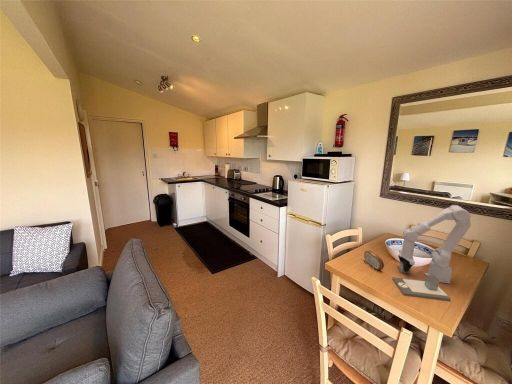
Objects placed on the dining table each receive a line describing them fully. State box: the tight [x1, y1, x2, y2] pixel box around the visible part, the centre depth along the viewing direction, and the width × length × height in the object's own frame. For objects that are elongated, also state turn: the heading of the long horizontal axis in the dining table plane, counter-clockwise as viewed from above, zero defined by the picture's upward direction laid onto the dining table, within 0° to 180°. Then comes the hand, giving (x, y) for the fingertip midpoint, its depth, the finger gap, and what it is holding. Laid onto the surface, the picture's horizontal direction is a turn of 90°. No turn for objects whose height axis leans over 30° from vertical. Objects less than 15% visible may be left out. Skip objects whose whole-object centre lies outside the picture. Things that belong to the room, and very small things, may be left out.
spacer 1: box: [398, 260, 411, 274], centre depth 131 cm, size 4×4×6 cm
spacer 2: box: [424, 275, 440, 290], centre depth 113 cm, size 4×4×6 cm
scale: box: [391, 276, 451, 302], centre depth 115 cm, size 21×14×2 cm, turn 79°
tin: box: [363, 250, 385, 271], centre depth 136 cm, size 15×3×8 cm, turn 10°
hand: (404, 269), depth 131 cm, fingers closed on spacer 1, 4 cm apart
